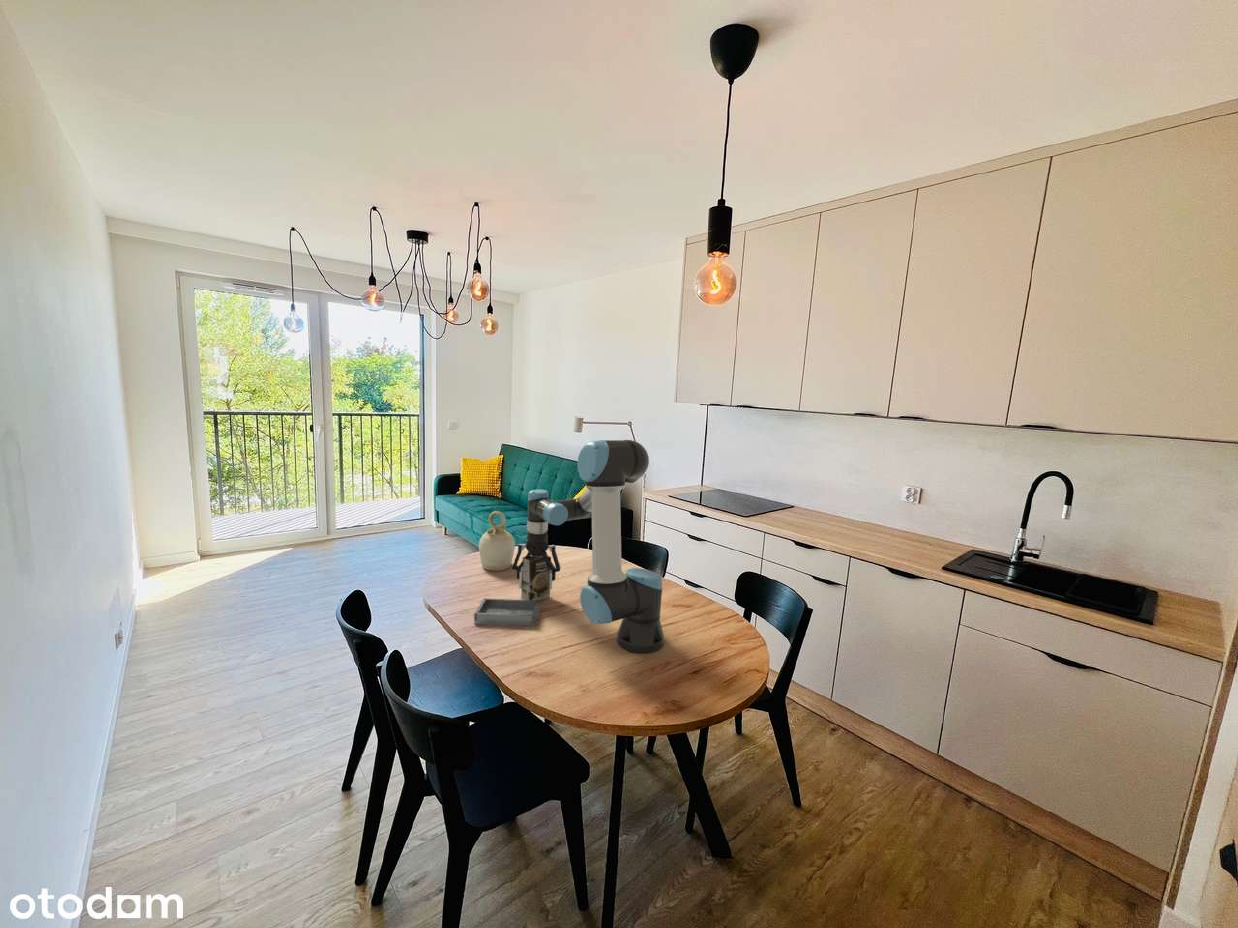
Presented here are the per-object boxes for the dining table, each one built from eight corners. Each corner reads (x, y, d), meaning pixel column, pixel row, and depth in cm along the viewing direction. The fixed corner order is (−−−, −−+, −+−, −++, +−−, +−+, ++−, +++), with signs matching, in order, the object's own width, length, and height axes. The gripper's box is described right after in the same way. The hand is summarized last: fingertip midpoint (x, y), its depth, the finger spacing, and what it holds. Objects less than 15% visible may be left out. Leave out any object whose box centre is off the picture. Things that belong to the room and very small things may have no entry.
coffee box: (529, 603, 183) (530, 561, 180) (520, 597, 187) (521, 556, 185) (550, 597, 189) (551, 557, 186) (541, 592, 193) (542, 552, 191)
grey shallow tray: (539, 609, 178) (540, 600, 177) (534, 626, 166) (534, 616, 165) (483, 607, 177) (483, 598, 177) (474, 623, 165) (474, 613, 165)
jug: (495, 575, 209) (496, 517, 205) (471, 566, 217) (471, 510, 213) (521, 565, 221) (523, 510, 218) (497, 557, 230) (498, 505, 226)
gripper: (569, 529, 188) (567, 585, 191) (508, 527, 188) (507, 582, 191) (567, 535, 181) (565, 593, 184) (504, 532, 180) (503, 590, 183)
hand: (535, 587), depth 187 cm, fingers closed on coffee box, 11 cm apart
